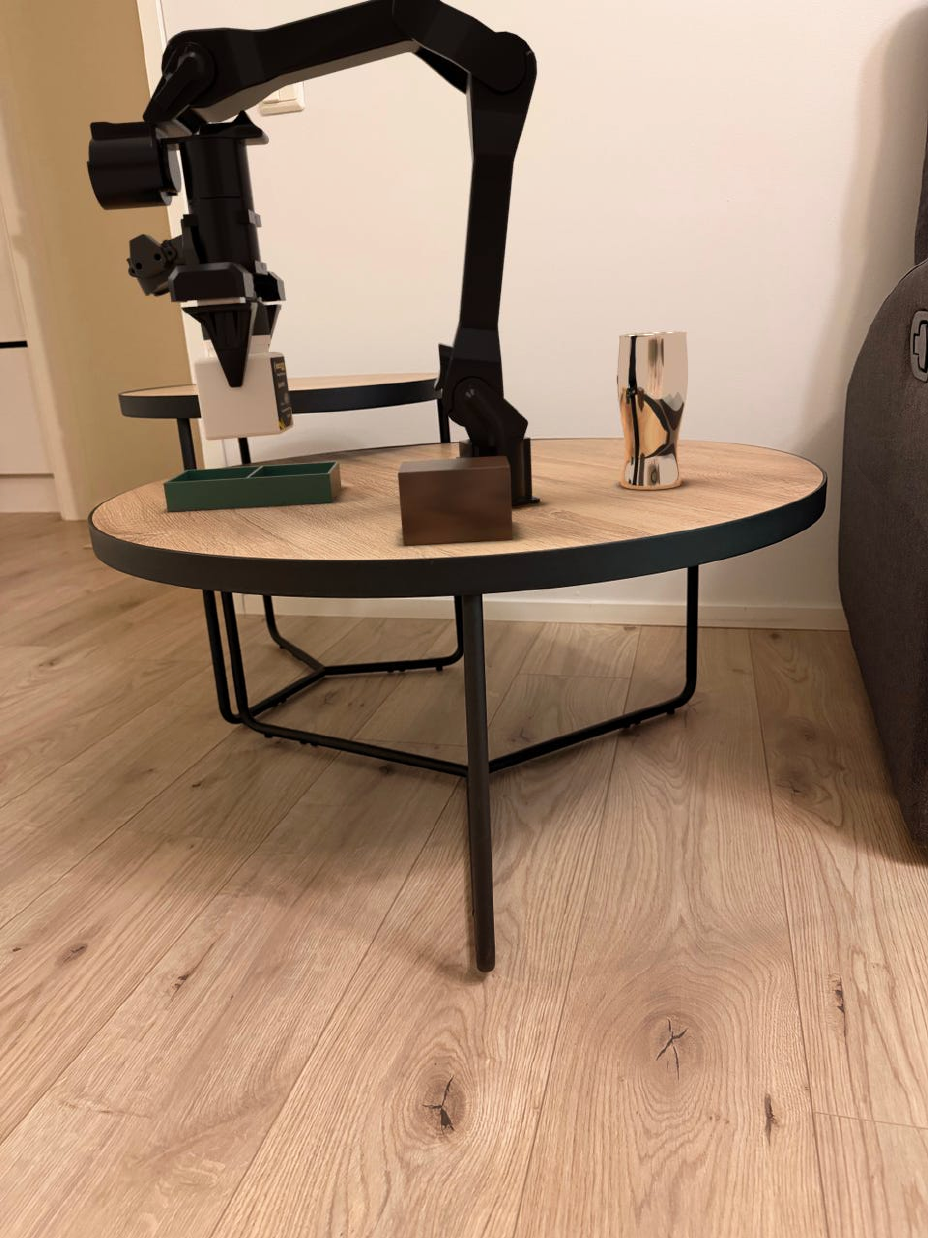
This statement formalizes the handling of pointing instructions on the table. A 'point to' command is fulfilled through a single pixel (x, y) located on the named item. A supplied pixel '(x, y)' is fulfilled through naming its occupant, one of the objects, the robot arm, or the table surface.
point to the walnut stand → (455, 500)
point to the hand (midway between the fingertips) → (245, 384)
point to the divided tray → (253, 486)
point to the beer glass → (652, 406)
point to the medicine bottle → (245, 389)
